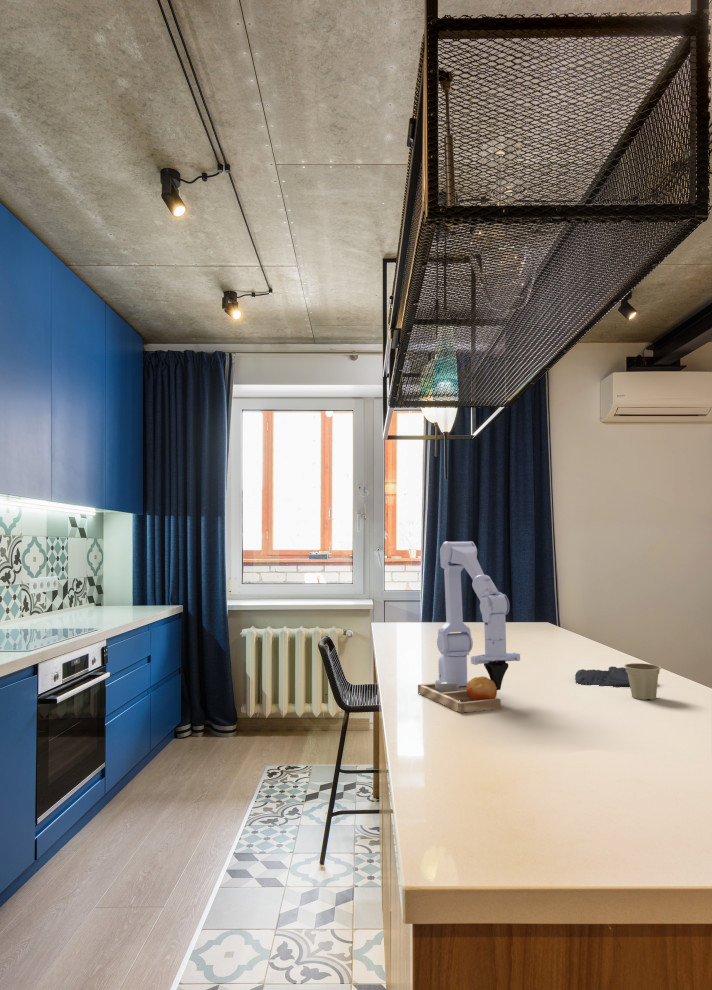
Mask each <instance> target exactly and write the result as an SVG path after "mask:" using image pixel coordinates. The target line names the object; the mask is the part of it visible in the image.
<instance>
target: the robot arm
mask: <svg viewBox="0 0 712 990" xmlns="http://www.w3.org/2000/svg"><path fill="white" fill-rule="evenodd" d="M441 544H442V545H441V546H440V549H439V559H440V562H439V563H440V568H441V569H444V570H443V572H444V573H443V574H444V593H445V594H444V595H445V596H444V598H445V616H446V617H445V618H446V620H445V621H446V622H445V623H444V624H442V626H440V628H438V629H437V631H438V632H437V639H436V644H437V645H436V647H437V649H438V651H439V653H440V654H441V655H440V656H439V658H438V662H437V663H438V679H436V680H435V681H438V680H454V681H457V682H458V683H459V687H467V684H468V682H469V681H468V656H469V655H470V653H471V651H472V650H473V647H474V646H473V644H474V642H473V638H472V634H471V633H472V632H471V629H470V627H469V626H467V625H466V624H465V623H464V619H463V617H464V616H463V598H462V597H463V594H462V571H463V570H464V569H465V571H466V572H467V573H468V575H469V576H470V578H471V580H472V583H471V585H472V586H471V587H472V589H473V591H474V593H475V594H476V596H477V598H478V599H479V602H480V604H479V610H480V614H481V619H482V622H483V624H484V625H483V626H484V654H480V655H474V656H470V664H471V665H475V666H477V665H481V664H483V666H484V668H485V670H486V672H487V674H488V676H489V679H490V680H492V681H493V682H494V683H495V685H496V687H497V691H500V690H501V688H502V684H503V681H504V676H505V674H506V672H507V670H508V668H509V663H507V662H515V661H516V662H519V661H521V653H518V652H507V630H506V627H507V626H506V624H507V623H506V622H507V621H506V615H508V614H509V612H510V601H509V598H508V597H507V596H508V595H506V594H505V593H502V592H501V591H499V589H498V588H497V587H496V585H495V583H494V582H493V580H492V578H491V577H490V576H489V575H488V574H484V571H483V569H482V566H481V565H480V563H479V560H478V557H477V556H478V548H477V546H476V544H475V543H474V541H471V540H469V541H443V543H441Z"/></svg>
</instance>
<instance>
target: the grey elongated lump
mask: <svg viewBox="0 0 712 990" xmlns="http://www.w3.org/2000/svg"><path fill="white" fill-rule="evenodd" d="M574 676H575V677H574V680H575V683H576V684H577V683H578V684H581V685H580V686H591V685H599V686H598V687H604V686H613V687H612V688H620V687H630V683H629V677H628V673H627V671H626V668H625V667H624V666H623V667H617V666H609V667H608V670H600V669H578V670H577V671H576V672H575V675H574ZM578 684H577V685H578Z"/></svg>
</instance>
